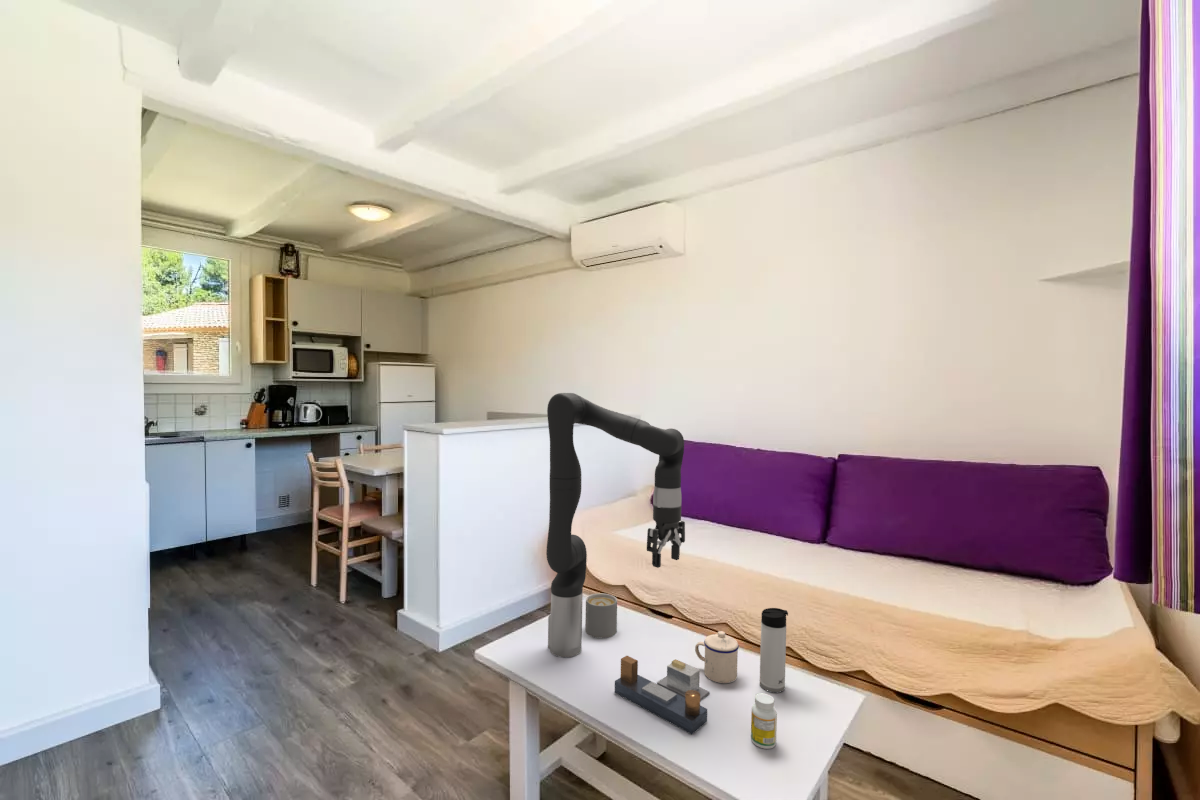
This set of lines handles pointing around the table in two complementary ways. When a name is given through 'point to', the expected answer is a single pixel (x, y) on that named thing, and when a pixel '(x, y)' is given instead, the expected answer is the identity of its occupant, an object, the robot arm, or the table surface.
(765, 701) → the supplement bottle
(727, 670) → the teacup with lid
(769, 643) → the travel mug
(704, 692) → the rubber mat
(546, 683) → the table surface
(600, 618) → the coffee mug
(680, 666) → the lever cap
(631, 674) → the hand plane
